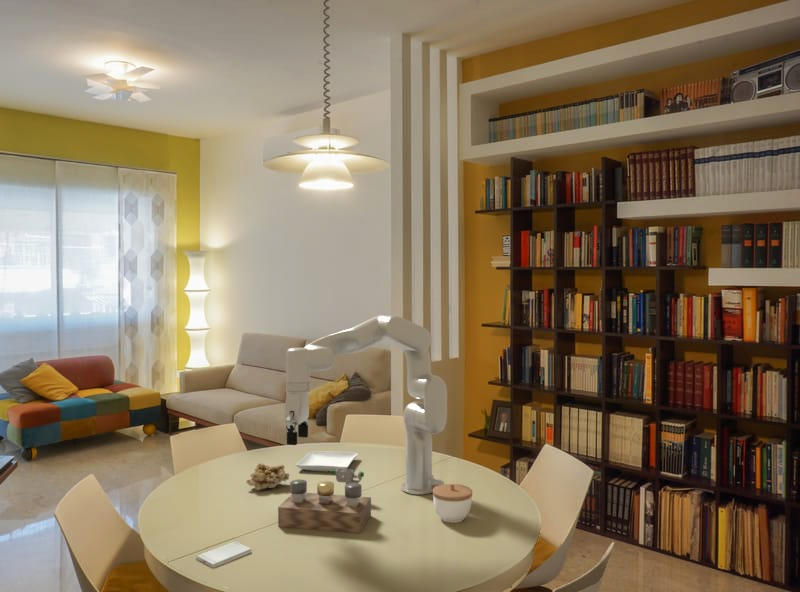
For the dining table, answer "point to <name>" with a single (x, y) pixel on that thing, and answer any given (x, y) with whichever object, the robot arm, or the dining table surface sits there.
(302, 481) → the knob
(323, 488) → the knob middle
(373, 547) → the dining table surface
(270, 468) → the mineral formation
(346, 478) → the mechanical component
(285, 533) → the dining table surface
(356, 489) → the knob
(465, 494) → the lidded bowl
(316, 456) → the salad plate
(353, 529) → the knob panel
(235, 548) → the hard drive
